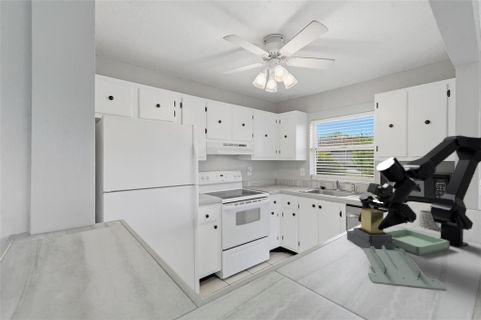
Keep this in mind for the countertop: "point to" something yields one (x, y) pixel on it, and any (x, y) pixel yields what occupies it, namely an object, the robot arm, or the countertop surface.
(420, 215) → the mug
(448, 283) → the countertop surface
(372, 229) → the tan note paper block
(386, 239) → the dark grey stepped fixture
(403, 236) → the parts tray
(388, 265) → the metal bracket
